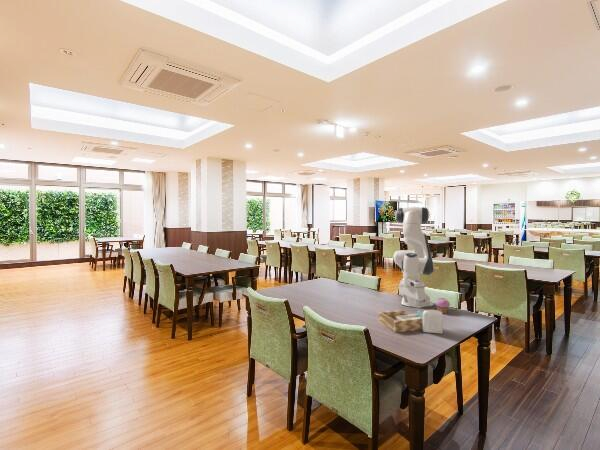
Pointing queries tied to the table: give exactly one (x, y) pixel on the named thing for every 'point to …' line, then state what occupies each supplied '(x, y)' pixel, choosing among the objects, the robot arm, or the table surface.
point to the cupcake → (442, 305)
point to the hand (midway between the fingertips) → (410, 304)
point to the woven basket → (399, 321)
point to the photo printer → (432, 321)
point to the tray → (410, 316)
